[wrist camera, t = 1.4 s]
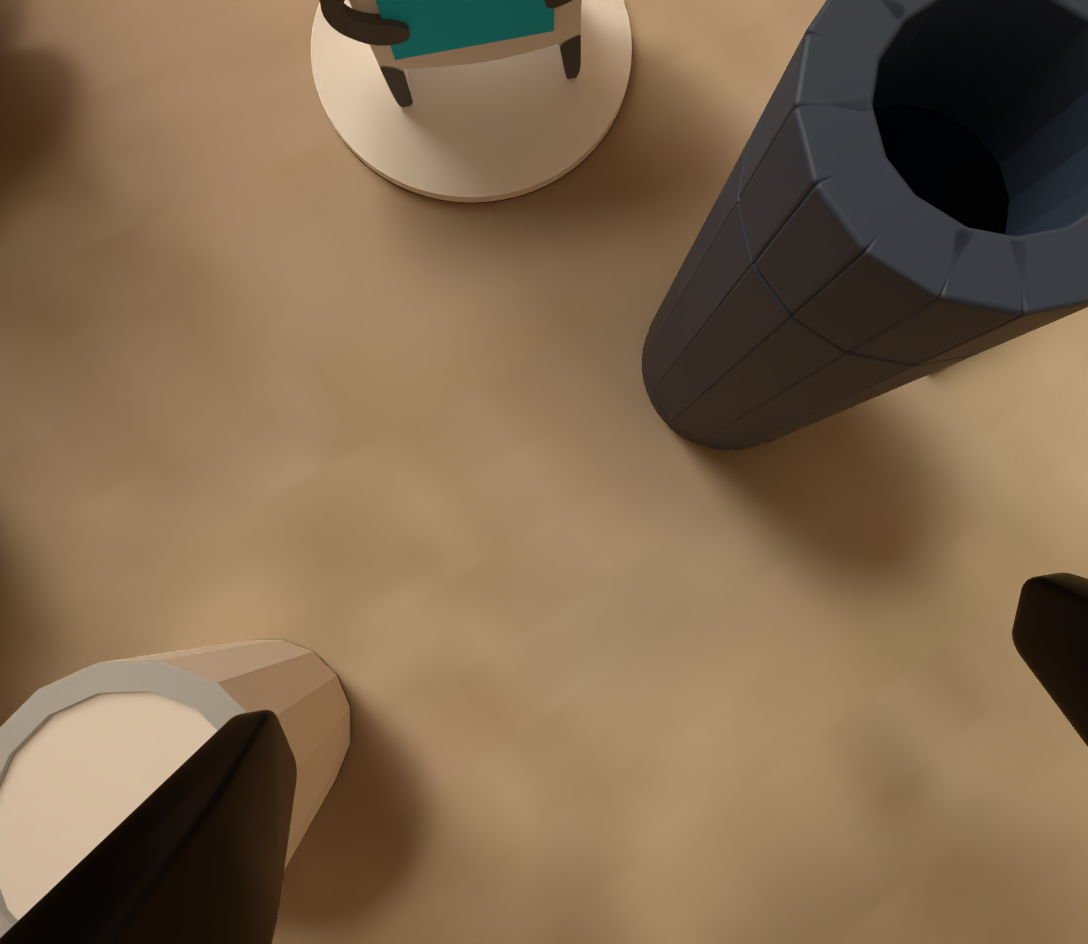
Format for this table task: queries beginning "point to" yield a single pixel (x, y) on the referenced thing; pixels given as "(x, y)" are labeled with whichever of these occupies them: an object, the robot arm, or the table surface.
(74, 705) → the beige cup
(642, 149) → the table surface
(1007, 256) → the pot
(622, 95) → the white stand
